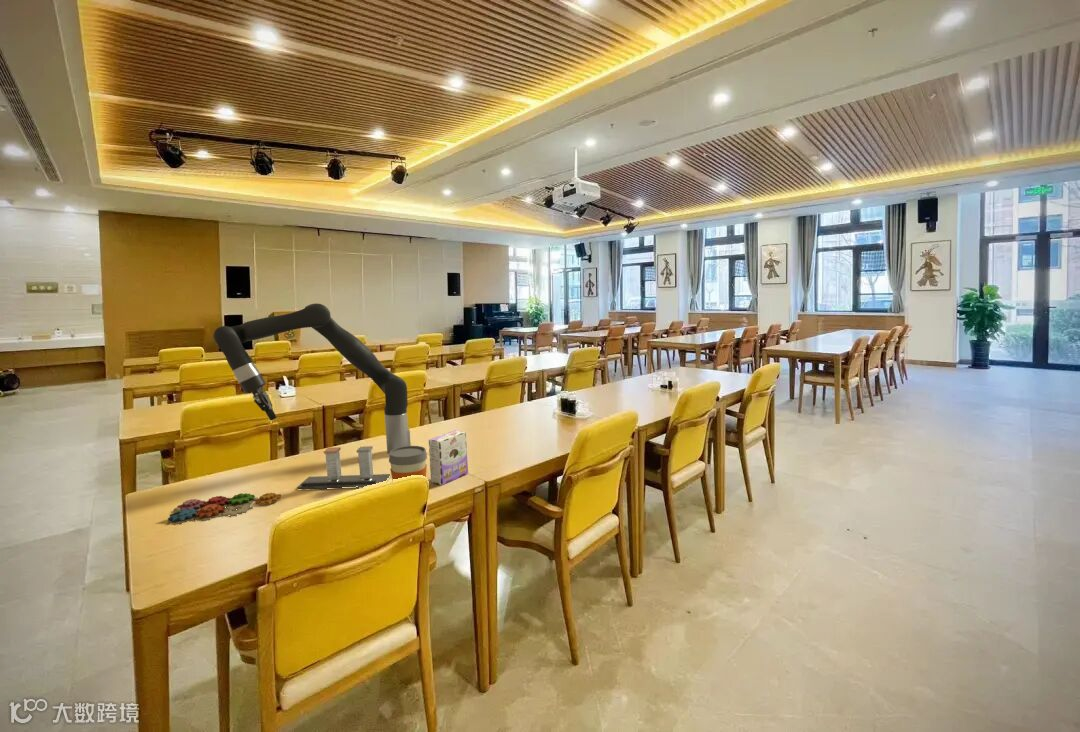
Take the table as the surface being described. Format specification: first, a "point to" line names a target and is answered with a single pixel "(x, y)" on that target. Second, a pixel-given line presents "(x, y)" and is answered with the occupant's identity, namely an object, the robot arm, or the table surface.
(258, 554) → the table surface
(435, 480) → the candy box
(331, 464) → the sliding pointer
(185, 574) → the table surface
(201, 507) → the gear puzzle
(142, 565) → the table surface
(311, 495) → the table surface
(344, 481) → the bolt plate
